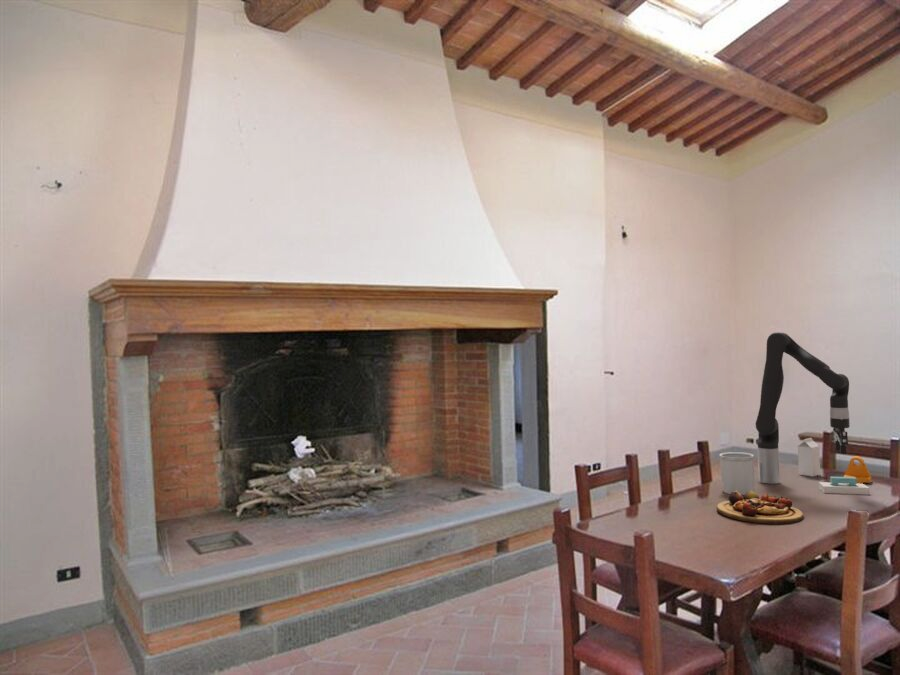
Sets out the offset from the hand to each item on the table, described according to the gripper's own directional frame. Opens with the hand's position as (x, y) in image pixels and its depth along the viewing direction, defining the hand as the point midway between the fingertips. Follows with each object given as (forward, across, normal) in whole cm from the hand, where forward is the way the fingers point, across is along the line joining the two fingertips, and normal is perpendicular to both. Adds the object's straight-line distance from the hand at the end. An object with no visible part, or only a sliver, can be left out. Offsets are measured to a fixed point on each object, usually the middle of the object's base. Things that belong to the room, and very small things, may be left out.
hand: (840, 452), depth 282 cm
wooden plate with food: (+19, +47, -41) cm, 66 cm away
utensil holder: (+19, +10, -45) cm, 50 cm away
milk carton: (+18, -36, -6) cm, 40 cm away
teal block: (+18, 0, 0) cm, 18 cm away
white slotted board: (+18, 0, 0) cm, 18 cm away
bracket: (+18, -23, +12) cm, 31 cm away
